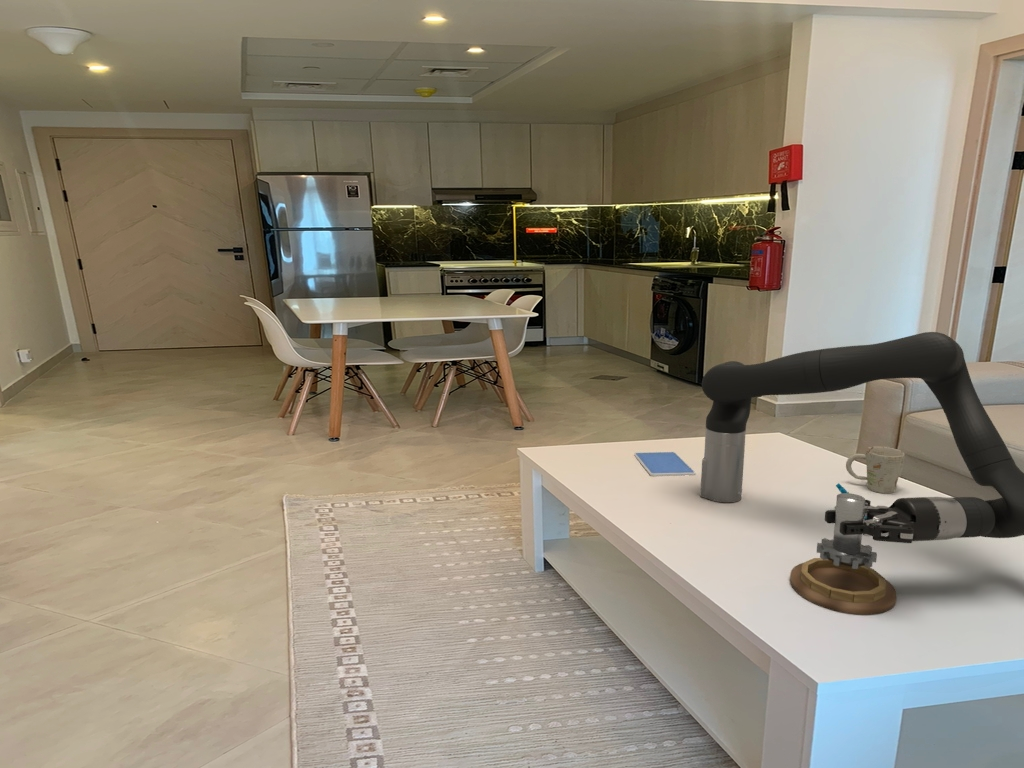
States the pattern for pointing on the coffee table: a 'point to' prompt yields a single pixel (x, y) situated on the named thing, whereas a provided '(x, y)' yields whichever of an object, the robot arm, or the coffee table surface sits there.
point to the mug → (879, 468)
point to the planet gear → (847, 536)
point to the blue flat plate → (664, 464)
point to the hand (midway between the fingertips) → (833, 522)
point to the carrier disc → (843, 587)
